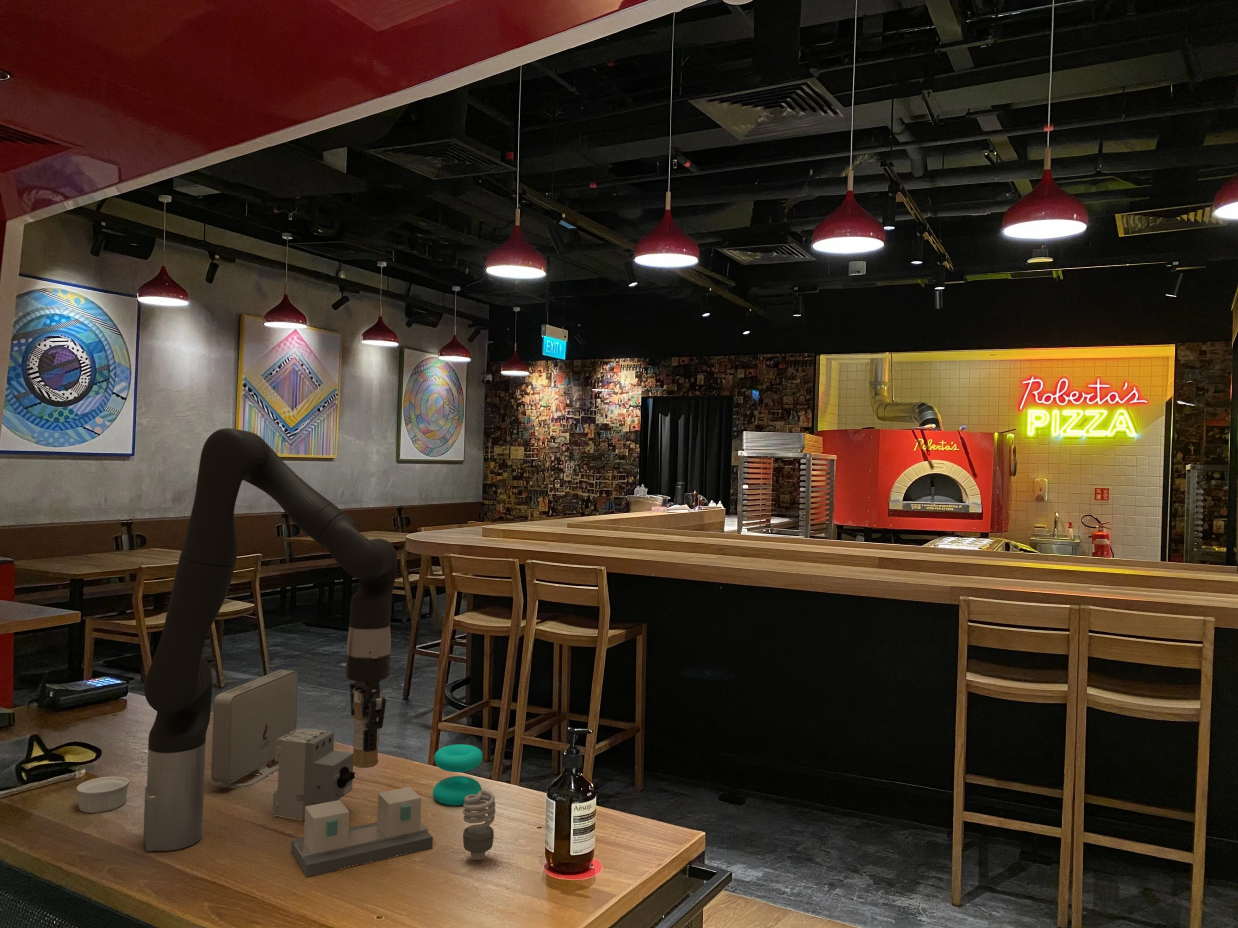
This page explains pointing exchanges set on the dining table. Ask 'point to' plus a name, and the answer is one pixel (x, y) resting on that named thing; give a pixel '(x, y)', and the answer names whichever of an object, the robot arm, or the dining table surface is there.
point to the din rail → (357, 840)
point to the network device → (252, 726)
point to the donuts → (457, 761)
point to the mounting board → (361, 852)
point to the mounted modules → (332, 819)
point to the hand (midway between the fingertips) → (365, 746)
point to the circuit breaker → (310, 772)
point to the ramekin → (102, 794)
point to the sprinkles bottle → (359, 755)
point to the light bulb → (479, 835)
